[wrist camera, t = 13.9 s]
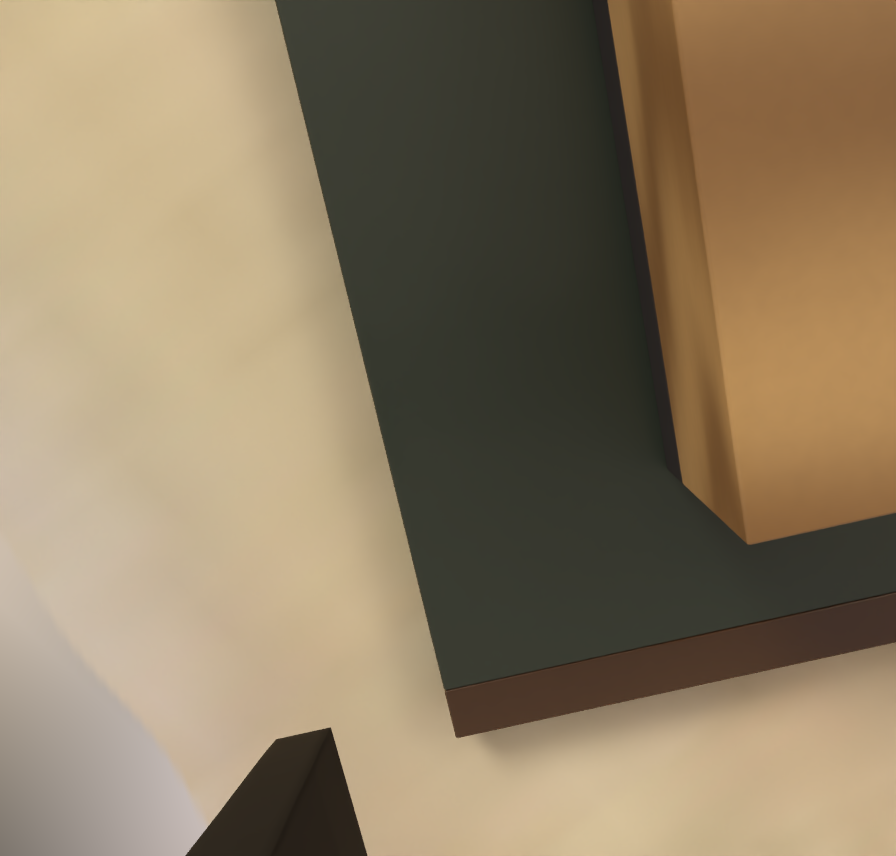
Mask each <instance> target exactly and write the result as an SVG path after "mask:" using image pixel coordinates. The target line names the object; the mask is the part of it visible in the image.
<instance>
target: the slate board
mask: <svg viewBox="0 0 896 856" xmlns="http://www.w3.org/2000/svg"><path fill="white" fill-rule="evenodd" d="M275 2H276V6H277V10H278V14H279V18H280V22H281V26H282V30H283V34H284V39H285V43H286V47H287V51H288V55H289V59H290V63H291V67H292V71H293V75H294V79H295V83H296V87H297V91H298V96H299V100H300V104H301V108H302V112H303V116H304V120H305V124H306V128H307V132H308V136H309V140H310V144H311V149H312V153H313V157H314V161H315V165H316V169H317V173H318V177H319V181H320V185H321V189H322V193H323V197H324V202H325V206H326V210H327V214H328V218H329V222H330V226H331V230H332V234H333V238H334V242H335V246H336V250H337V255H338V259H339V263H340V267H341V271H342V275H343V279H344V283H345V287H346V291H347V295H348V299H349V303H350V308H351V312H352V316H353V320H354V324H355V328H356V332H357V336H358V340H359V344H360V348H361V352H362V356H363V361H364V365H365V369H366V373H367V377H368V381H369V385H370V389H371V393H372V397H373V401H374V405H375V409H376V413H377V418H378V422H379V426H380V430H381V434H382V438H383V442H384V446H385V450H386V454H387V458H388V462H389V466H390V471H391V475H392V479H393V483H394V487H395V491H396V495H397V499H398V503H399V507H400V511H401V515H402V519H403V524H404V528H405V532H406V536H407V540H408V544H409V548H410V552H411V556H412V560H413V564H414V568H415V572H416V577H417V581H418V585H419V589H420V593H421V597H422V601H423V605H424V609H425V613H426V617H427V621H428V625H429V630H430V634H431V638H432V642H433V646H434V650H435V654H436V658H437V662H438V666H439V670H440V674H441V678H442V683H443V687H444V689H445V695H446V699H447V703H448V707H449V711H450V715H451V719H452V723H453V727H454V731H455V735H456V737H457V738H460V737H465V736H469V735H474V734H478V733H483V732H487V731H492V730H497V729H501V728H506V727H510V726H515V725H519V724H524V723H529V722H533V721H538V720H542V719H547V718H551V717H556V716H561V715H565V714H570V713H574V712H579V711H583V710H588V709H593V708H597V707H602V706H606V705H611V704H615V703H620V702H625V701H629V700H634V699H638V698H643V697H647V696H652V695H657V694H661V693H666V692H670V691H675V690H679V689H684V688H689V687H693V686H698V685H702V684H707V683H711V682H716V681H721V680H725V679H730V678H734V677H739V676H743V675H748V674H753V673H757V672H762V671H766V670H771V669H775V668H780V667H785V666H789V665H794V664H798V663H803V662H807V661H812V660H817V659H821V658H826V657H830V656H835V655H839V654H844V653H849V652H853V651H858V650H862V649H867V648H871V647H876V646H881V645H885V644H890V643H894V642H896V513H893V514H889V515H884V516H879V517H875V518H870V519H866V520H861V521H857V522H852V523H848V524H843V525H838V526H834V527H829V528H825V529H820V530H816V531H811V532H807V533H802V534H798V535H793V536H788V537H784V538H779V539H775V540H770V541H766V542H761V543H757V544H752V545H749V544H747V543H745V542H744V541H743V540H742V539H741V538H740V537H739V536H738V535H737V534H736V533H735V532H734V531H733V530H732V529H731V528H729V527H728V526H727V525H726V524H725V523H724V522H723V521H722V520H721V519H720V518H719V517H718V516H717V515H716V514H715V513H713V512H712V511H711V510H710V509H709V508H708V507H707V506H706V505H705V504H704V503H703V502H702V501H701V500H700V499H699V498H697V497H696V496H695V495H694V494H693V493H692V492H691V491H690V490H689V489H688V488H687V487H686V486H685V485H684V484H683V483H682V482H681V481H680V480H679V479H677V478H676V477H675V476H674V475H673V474H672V473H671V472H670V471H669V470H668V469H667V464H666V458H665V452H664V446H663V439H662V433H661V427H660V421H659V414H658V408H657V402H656V396H655V389H654V383H653V377H652V371H651V364H650V358H649V352H648V346H647V339H646V333H645V327H644V321H643V314H642V308H641V302H640V296H639V289H638V283H637V277H636V271H635V264H634V258H633V252H632V246H631V239H630V233H629V227H628V221H627V214H626V208H625V202H624V196H623V189H622V183H621V177H620V171H619V164H618V158H617V152H616V146H615V139H614V133H613V127H612V121H611V114H610V108H609V102H608V96H607V89H606V83H605V77H604V71H603V64H602V58H601V52H600V46H599V39H598V33H597V27H596V21H595V14H594V8H593V2H592V0H275Z"/></svg>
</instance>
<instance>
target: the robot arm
mask: <svg viewBox="0 0 896 856" xmlns="http://www.w3.org/2000/svg"><path fill="white" fill-rule="evenodd" d="M186 856H367V853H366V849H365V846H364V842H363V839H362V835H361V832H360V828H359V825H358V821H357V818H356V814H355V811H354V807H353V804H352V800H351V797H350V793H349V790H348V786H347V783H346V779H345V776H344V772H343V769H342V765H341V762H340V758H339V755H338V751H337V748H336V744H335V741H334V737H333V734H332V730H331V728H326V729H322V730H317V731H312V732H308V733H303V734H299V735H294V736H290V737H285V738H280V739H276V740H275V741H274V743H273V744H272V745H271V746H270V747H269V749H268V750H267V751H266V752H265V753H264V755H263V756H262V757H261V758H260V760H259V761H258V762H257V764H256V765H255V766H254V767H253V769H252V770H251V771H250V773H249V774H248V775H247V777H246V778H245V779H244V781H243V782H242V783H241V785H240V786H239V787H238V789H237V790H236V791H235V792H234V794H233V795H232V796H231V798H230V799H229V800H228V802H227V803H226V804H225V806H224V807H223V808H222V810H221V811H220V812H219V813H218V815H217V816H216V817H215V819H214V820H213V821H212V822H211V824H210V825H209V826H208V828H207V829H206V830H205V831H204V833H203V834H202V835H201V836H200V838H199V839H198V840H197V842H196V843H195V844H194V845H193V847H192V848H191V850H190V851H189V852H188V853H187V855H186Z"/></svg>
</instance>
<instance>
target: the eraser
mask: <svg viewBox="0 0 896 856" xmlns="http://www.w3.org/2000/svg"><path fill="white" fill-rule="evenodd" d="M592 2H593V8H594V14H595V21H596V27H597V33H598V39H599V46H600V52H601V58H602V64H603V71H604V77H605V83H606V89H607V96H608V102H609V108H610V114H611V121H612V127H613V133H614V139H615V146H616V152H617V158H618V164H619V171H620V177H621V183H622V189H623V196H624V202H625V208H626V214H627V221H628V227H629V233H630V239H631V246H632V252H633V258H634V264H635V271H636V277H637V283H638V289H639V296H640V302H641V308H642V314H643V321H644V327H645V333H646V339H647V346H648V352H649V358H650V364H651V371H652V377H653V383H654V389H655V396H656V402H657V408H658V414H659V421H660V427H661V433H662V439H663V446H664V452H665V458H666V464H667V469H668V470H669V471H670V472H671V473H672V474H673V475H674V476H675V477H676V478H677V479H679V480H680V481H681V482H682V483H683V484H684V485H685V486H686V487H687V488H688V489H689V490H690V491H691V492H692V493H693V494H694V495H695V496H696V497H697V498H699V499H700V500H701V501H702V502H703V503H704V504H705V505H706V506H707V507H708V508H709V509H710V510H711V511H712V512H713V513H715V514H716V515H717V516H718V517H719V518H720V519H721V520H722V521H723V522H724V523H725V524H726V525H727V526H728V527H729V528H731V529H732V530H733V531H734V532H735V533H736V534H737V535H738V536H739V537H740V538H741V539H742V540H743V541H744V542H745V543H747V544H749V545H752V544H757V543H761V542H766V541H770V540H775V539H779V538H784V537H788V536H793V535H798V534H802V533H807V532H811V531H816V530H820V529H825V528H829V527H834V526H838V525H843V524H848V523H852V522H857V521H861V520H866V519H870V518H875V517H879V516H884V515H889V514H893V513H896V0H592Z"/></svg>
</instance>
